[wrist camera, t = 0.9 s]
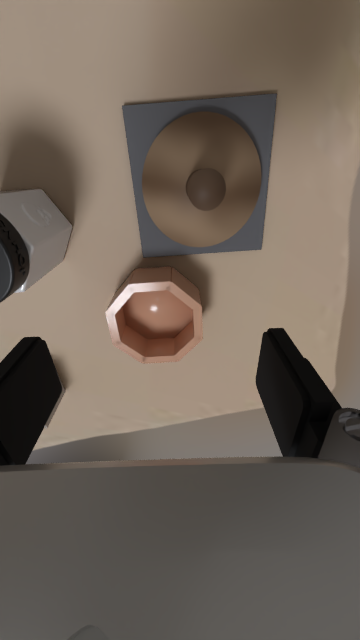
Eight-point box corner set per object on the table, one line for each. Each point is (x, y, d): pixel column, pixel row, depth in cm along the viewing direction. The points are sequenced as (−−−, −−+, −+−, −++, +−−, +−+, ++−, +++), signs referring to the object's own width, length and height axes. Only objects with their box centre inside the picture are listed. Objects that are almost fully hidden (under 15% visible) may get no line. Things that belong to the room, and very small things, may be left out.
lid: (134, 118, 24) (123, 103, 18) (264, 108, 23) (289, 90, 18) (150, 248, 30) (145, 264, 24) (253, 241, 29) (270, 256, 24)
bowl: (109, 270, 31) (98, 286, 27) (197, 264, 31) (201, 279, 27) (124, 342, 37) (118, 365, 33) (199, 337, 37) (203, 360, 32)
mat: (123, 107, 24) (122, 105, 23) (274, 95, 23) (276, 93, 23) (143, 256, 31) (143, 257, 30) (259, 248, 30) (261, 249, 30)
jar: (88, 241, 30) (42, 279, 19) (40, 277, 32) (-25, 329, 21) (26, 166, 26) (-73, 163, 15) (-23, 213, 28) (-140, 238, 18)
